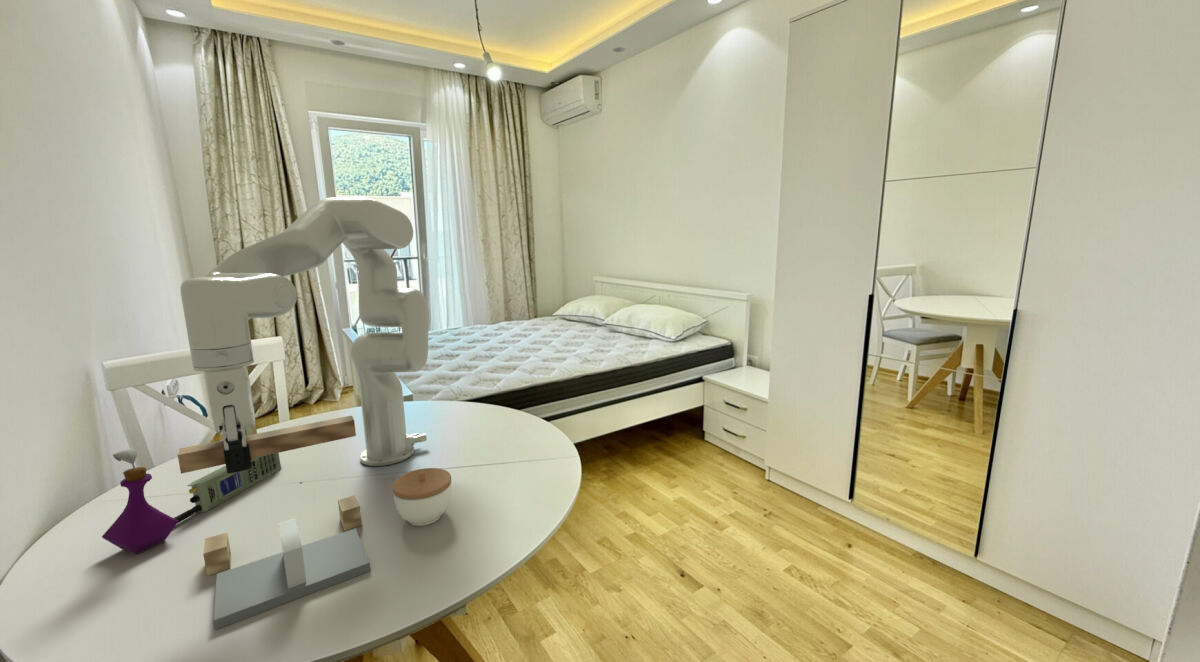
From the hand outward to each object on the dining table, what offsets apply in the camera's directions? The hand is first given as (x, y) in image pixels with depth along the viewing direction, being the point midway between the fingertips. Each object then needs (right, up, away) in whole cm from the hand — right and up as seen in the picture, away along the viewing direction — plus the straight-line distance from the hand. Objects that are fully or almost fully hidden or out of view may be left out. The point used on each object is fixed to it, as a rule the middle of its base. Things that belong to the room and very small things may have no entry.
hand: (239, 465), depth 78 cm
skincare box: (-30, -11, +41) cm, 52 cm away
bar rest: (+3, -16, +9) cm, 18 cm away
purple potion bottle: (-23, -17, +8) cm, 30 cm away
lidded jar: (+24, -15, +16) cm, 33 cm away
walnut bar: (+4, +2, +3) cm, 5 cm away
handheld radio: (-21, -14, +25) cm, 36 cm away
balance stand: (+9, -18, -1) cm, 20 cm away
